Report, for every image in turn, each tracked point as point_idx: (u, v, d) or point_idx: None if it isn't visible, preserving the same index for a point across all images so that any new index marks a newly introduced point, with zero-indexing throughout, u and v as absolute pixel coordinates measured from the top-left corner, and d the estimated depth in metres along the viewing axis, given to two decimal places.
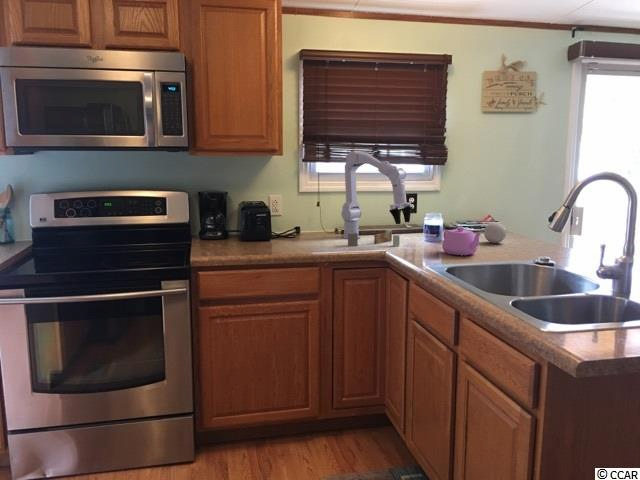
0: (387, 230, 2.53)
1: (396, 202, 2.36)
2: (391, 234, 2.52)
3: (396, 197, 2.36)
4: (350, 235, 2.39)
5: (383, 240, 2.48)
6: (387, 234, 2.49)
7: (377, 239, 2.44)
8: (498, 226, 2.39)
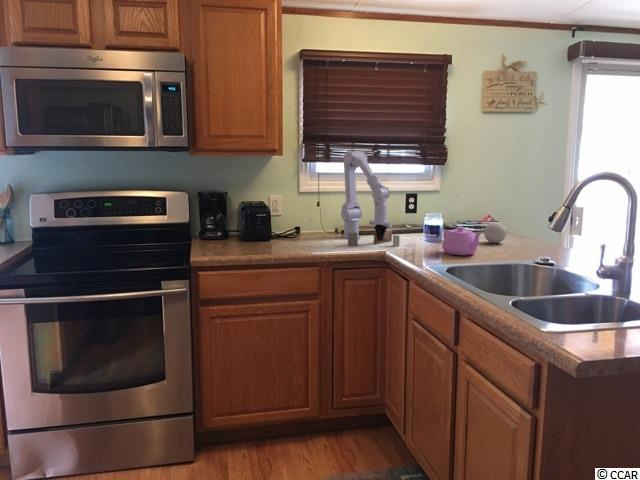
0: (387, 230, 2.53)
1: (384, 220, 2.41)
2: (391, 234, 2.52)
3: (384, 215, 2.40)
4: (350, 235, 2.39)
5: (383, 240, 2.48)
6: (387, 234, 2.49)
7: (376, 239, 2.45)
8: (498, 226, 2.39)
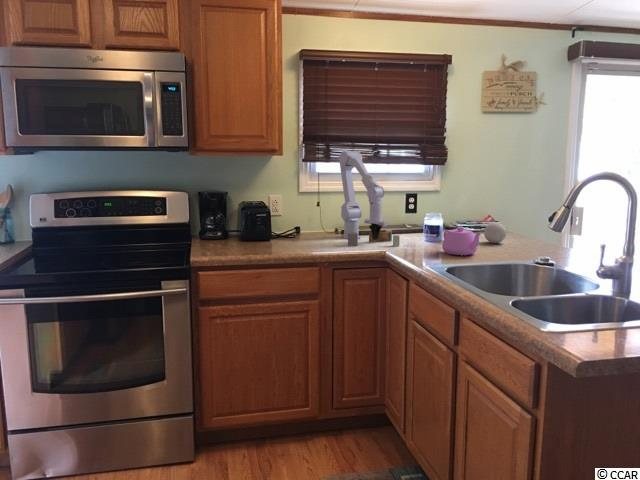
0: (387, 230, 2.53)
1: (379, 219, 2.44)
2: (391, 234, 2.52)
3: (379, 214, 2.43)
4: (350, 235, 2.39)
5: (380, 239, 2.50)
6: (385, 234, 2.50)
7: (371, 237, 2.49)
8: (498, 226, 2.39)
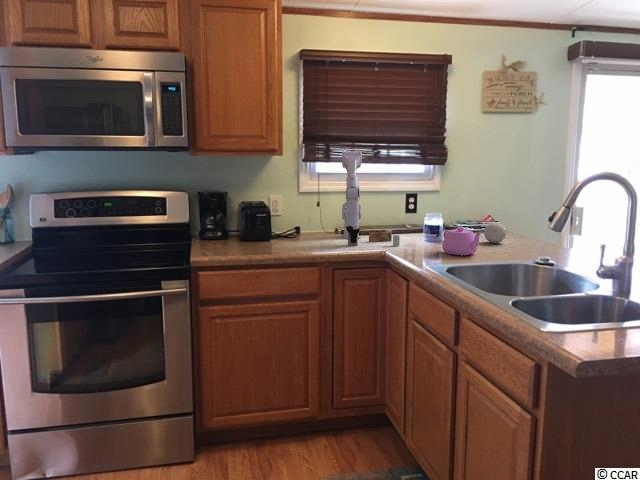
0: (387, 230, 2.53)
1: (353, 221, 2.37)
2: (391, 234, 2.52)
3: (353, 217, 2.36)
4: None
5: (380, 239, 2.50)
6: (385, 234, 2.50)
7: (371, 237, 2.49)
8: (498, 226, 2.39)
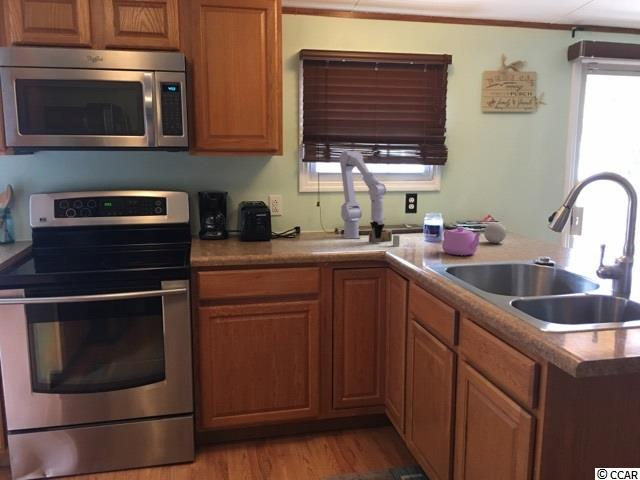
0: (387, 230, 2.53)
1: (377, 217, 2.42)
2: (391, 234, 2.52)
3: (378, 212, 2.41)
4: (374, 231, 2.43)
5: None
6: (385, 234, 2.50)
7: (371, 237, 2.49)
8: (498, 226, 2.39)
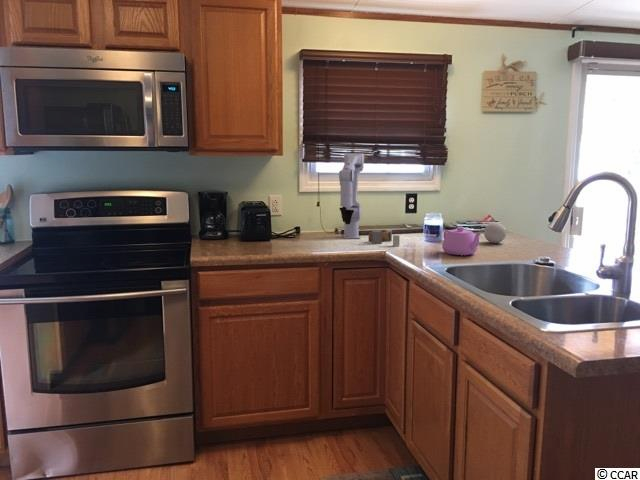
0: (387, 230, 2.53)
1: (346, 202, 2.41)
2: (391, 234, 2.52)
3: (347, 198, 2.40)
4: (374, 233, 2.43)
5: None
6: (385, 234, 2.50)
7: (370, 237, 2.50)
8: (498, 226, 2.39)
